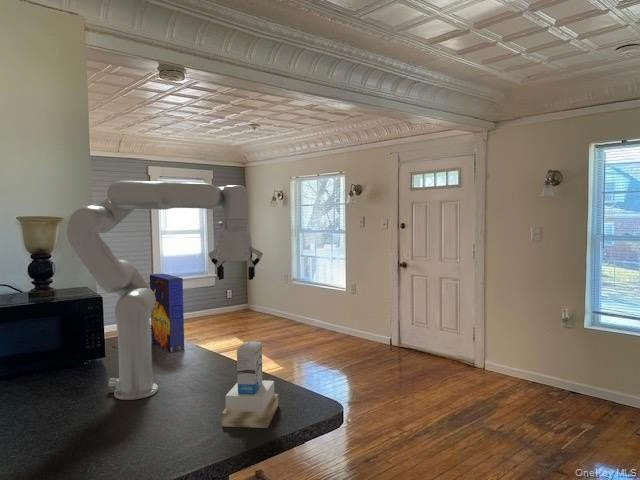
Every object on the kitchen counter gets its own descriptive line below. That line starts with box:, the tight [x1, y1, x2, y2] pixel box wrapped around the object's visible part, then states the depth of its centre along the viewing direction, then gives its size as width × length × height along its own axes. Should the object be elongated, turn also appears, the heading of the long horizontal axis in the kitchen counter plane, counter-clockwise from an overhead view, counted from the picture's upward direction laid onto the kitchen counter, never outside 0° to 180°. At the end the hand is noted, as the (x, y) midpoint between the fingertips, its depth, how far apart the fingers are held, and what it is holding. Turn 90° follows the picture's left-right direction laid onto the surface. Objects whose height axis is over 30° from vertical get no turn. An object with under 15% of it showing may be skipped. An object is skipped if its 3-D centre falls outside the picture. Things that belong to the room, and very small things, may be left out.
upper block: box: [225, 379, 275, 413], centre depth 125 cm, size 10×12×4 cm
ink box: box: [236, 341, 263, 394], centre depth 124 cm, size 9×5×12 cm, turn 172°
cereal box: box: [149, 273, 185, 354], centre depth 194 cm, size 22×6×30 cm, turn 39°
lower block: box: [221, 393, 279, 429], centre depth 125 cm, size 12×14×4 cm
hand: (236, 279), depth 145 cm, fingers open, 9 cm apart
